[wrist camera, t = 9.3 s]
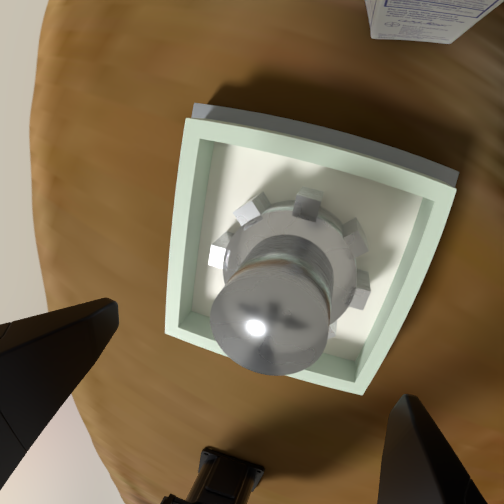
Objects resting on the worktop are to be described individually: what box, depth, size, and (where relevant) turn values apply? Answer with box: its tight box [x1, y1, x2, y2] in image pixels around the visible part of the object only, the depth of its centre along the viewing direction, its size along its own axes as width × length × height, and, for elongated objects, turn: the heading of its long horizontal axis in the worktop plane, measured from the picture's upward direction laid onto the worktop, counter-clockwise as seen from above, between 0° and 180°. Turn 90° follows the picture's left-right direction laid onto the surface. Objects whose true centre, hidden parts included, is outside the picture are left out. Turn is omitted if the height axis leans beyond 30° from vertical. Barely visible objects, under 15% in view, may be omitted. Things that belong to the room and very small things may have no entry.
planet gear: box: [209, 186, 371, 376], centre depth 13 cm, size 7×7×6 cm
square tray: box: [165, 103, 459, 395], centre depth 16 cm, size 13×13×4 cm
